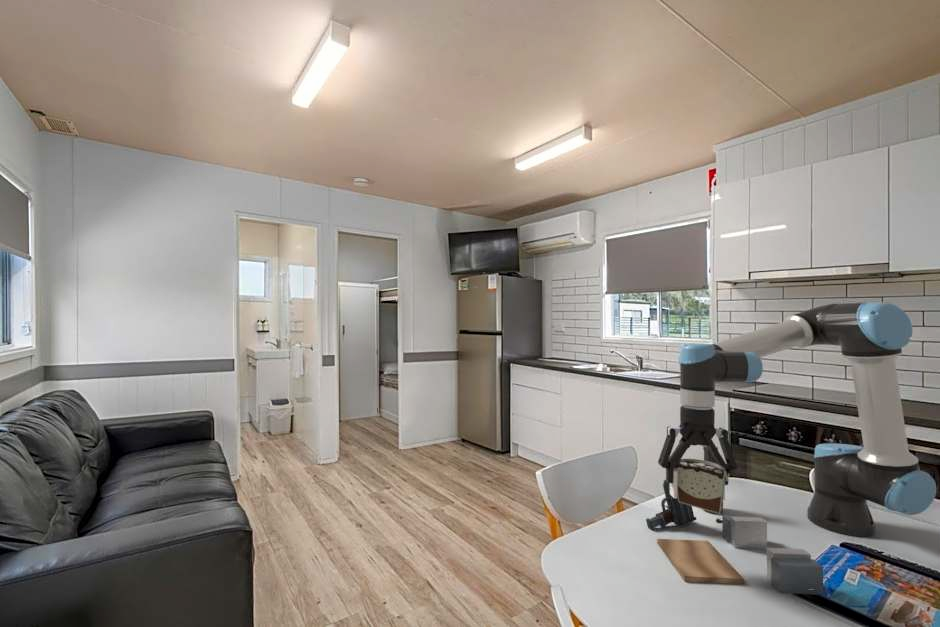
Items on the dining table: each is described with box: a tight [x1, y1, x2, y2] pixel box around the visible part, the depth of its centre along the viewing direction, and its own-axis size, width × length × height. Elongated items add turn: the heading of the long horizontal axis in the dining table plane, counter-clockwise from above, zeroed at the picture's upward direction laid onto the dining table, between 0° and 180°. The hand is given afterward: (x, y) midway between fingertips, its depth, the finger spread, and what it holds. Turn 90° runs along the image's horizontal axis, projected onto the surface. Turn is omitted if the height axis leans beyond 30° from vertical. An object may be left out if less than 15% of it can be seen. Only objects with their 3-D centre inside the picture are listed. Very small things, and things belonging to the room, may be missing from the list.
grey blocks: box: [715, 514, 824, 596], centre depth 109 cm, size 9×28×7 cm, turn 176°
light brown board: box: [656, 538, 745, 585], centre depth 107 cm, size 13×17×1 cm
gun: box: [645, 479, 697, 531], centre depth 126 cm, size 3×17×15 cm
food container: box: [675, 458, 729, 515], centre depth 107 cm, size 12×6×10 cm, turn 45°
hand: (696, 497), depth 108 cm, fingers closed on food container, 10 cm apart
